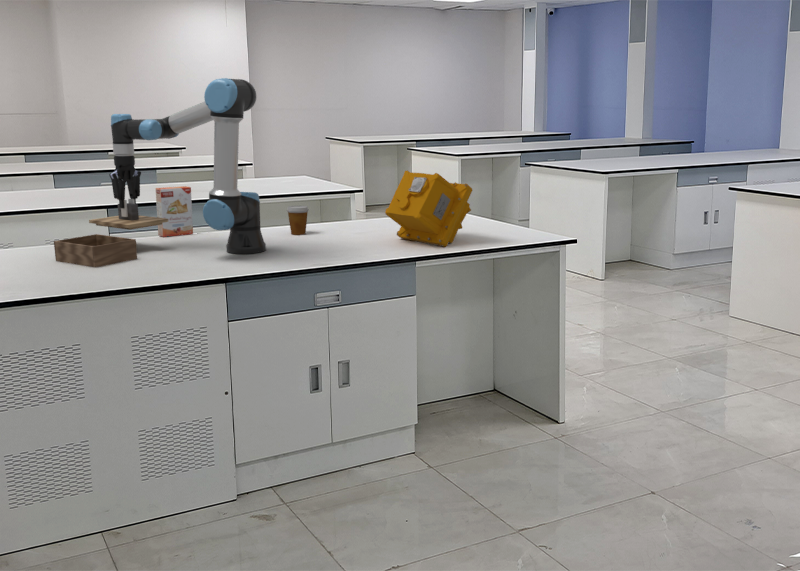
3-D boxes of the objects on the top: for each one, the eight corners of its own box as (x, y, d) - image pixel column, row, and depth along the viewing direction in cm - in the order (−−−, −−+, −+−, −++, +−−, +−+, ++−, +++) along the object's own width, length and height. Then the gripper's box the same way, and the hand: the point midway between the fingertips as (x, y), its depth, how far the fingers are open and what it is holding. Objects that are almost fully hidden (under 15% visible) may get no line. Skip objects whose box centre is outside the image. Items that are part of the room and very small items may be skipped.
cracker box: (163, 237, 334) (160, 188, 329) (158, 235, 338) (154, 187, 333) (194, 234, 342) (191, 186, 338) (188, 232, 347) (185, 185, 342)
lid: (168, 224, 306) (167, 203, 304) (129, 230, 290) (127, 208, 288) (129, 219, 317) (127, 199, 316) (89, 225, 302) (87, 204, 300)
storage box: (137, 260, 284) (135, 239, 282) (95, 269, 269) (93, 246, 267) (98, 255, 295) (96, 234, 293) (55, 263, 280) (53, 241, 279)
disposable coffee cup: (313, 233, 344) (312, 206, 341) (299, 236, 336) (299, 208, 333) (297, 231, 349) (296, 204, 346) (283, 234, 341) (282, 207, 338)
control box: (458, 257, 316) (413, 222, 297) (413, 248, 336) (368, 215, 317) (485, 198, 321) (442, 160, 301) (439, 193, 341) (396, 157, 321)
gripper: (134, 153, 306) (138, 212, 311) (99, 155, 293) (105, 217, 298) (147, 154, 302) (151, 214, 308) (113, 156, 289) (118, 219, 294)
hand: (128, 215), depth 303 cm, fingers closed on lid, 3 cm apart
